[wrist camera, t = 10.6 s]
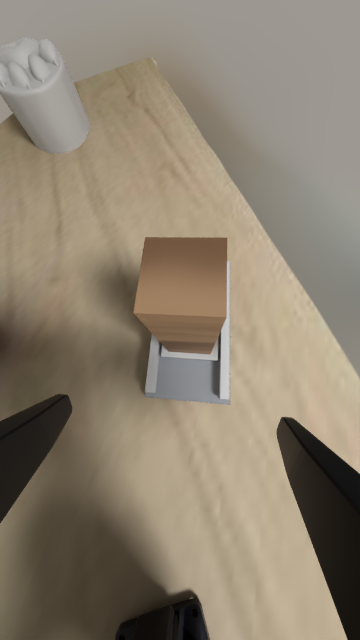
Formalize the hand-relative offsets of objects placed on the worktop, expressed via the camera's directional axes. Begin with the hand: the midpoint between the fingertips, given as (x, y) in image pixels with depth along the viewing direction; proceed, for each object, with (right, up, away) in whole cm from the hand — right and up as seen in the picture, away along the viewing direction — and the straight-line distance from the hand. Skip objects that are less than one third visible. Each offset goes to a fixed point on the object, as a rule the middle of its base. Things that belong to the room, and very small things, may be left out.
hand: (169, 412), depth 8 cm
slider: (+2, +3, +13) cm, 14 cm away
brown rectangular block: (+2, +2, +13) cm, 13 cm away
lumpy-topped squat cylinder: (-20, +37, +26) cm, 50 cm away
